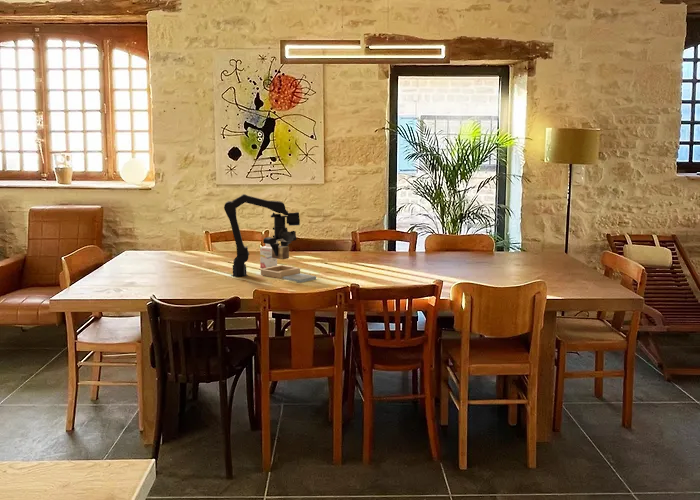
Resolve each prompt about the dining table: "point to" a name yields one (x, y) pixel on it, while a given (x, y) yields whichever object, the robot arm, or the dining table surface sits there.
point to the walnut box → (281, 253)
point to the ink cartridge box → (267, 257)
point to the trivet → (300, 277)
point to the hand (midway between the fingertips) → (280, 255)
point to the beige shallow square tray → (280, 271)
